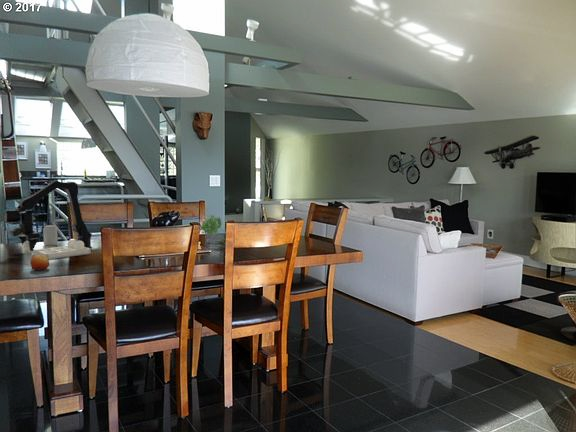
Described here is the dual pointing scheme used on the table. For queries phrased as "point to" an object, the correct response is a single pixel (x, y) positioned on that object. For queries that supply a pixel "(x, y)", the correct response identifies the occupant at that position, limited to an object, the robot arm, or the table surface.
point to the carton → (64, 250)
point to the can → (50, 235)
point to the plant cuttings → (211, 226)
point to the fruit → (39, 263)
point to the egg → (26, 248)
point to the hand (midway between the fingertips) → (28, 249)
